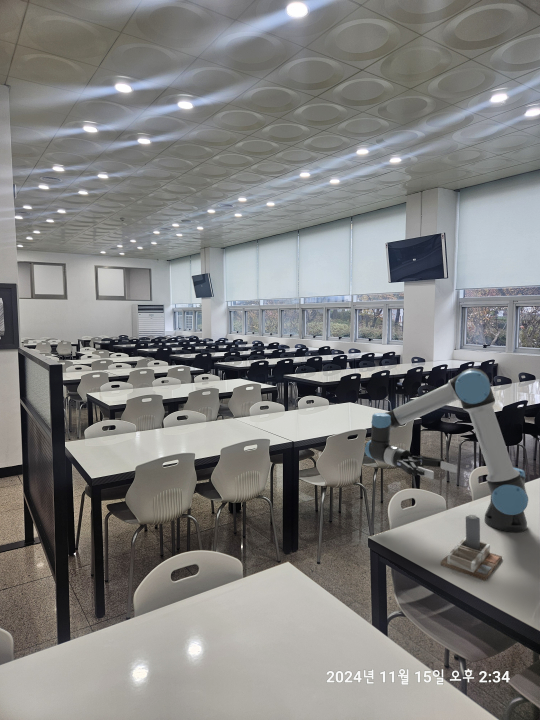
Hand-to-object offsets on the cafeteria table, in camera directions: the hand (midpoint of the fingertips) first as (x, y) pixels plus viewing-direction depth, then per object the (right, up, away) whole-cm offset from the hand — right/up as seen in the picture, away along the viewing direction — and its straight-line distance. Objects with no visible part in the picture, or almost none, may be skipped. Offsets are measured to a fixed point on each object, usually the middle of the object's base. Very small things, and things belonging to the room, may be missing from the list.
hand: (445, 472), depth 168 cm
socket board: (+5, -27, -11) cm, 30 cm away
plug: (+7, -26, -7) cm, 28 cm away
